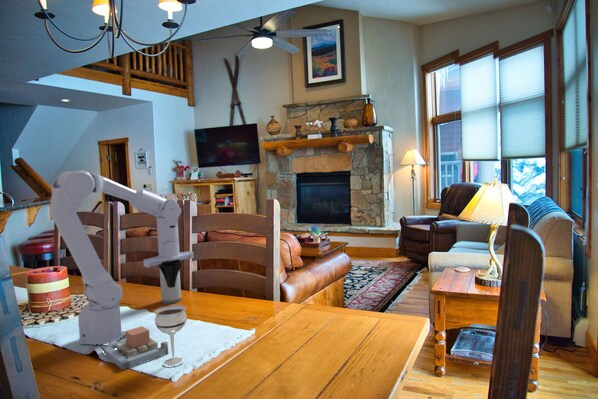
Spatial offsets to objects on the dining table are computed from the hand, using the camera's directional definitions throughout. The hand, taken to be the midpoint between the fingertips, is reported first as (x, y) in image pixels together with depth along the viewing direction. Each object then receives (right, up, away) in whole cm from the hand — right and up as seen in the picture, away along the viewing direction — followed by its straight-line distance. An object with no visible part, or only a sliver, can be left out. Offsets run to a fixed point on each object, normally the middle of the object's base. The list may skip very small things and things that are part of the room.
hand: (171, 286), depth 118 cm
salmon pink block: (-1, -9, -22) cm, 23 cm away
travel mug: (-5, -9, +17) cm, 20 cm away
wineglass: (+9, -11, -27) cm, 31 cm away
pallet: (-1, -11, -22) cm, 24 cm away
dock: (-1, -11, -21) cm, 24 cm away
